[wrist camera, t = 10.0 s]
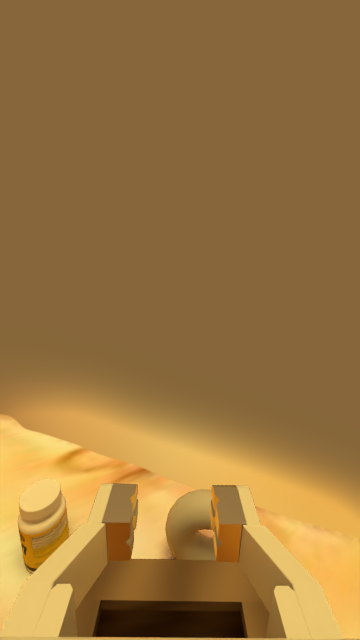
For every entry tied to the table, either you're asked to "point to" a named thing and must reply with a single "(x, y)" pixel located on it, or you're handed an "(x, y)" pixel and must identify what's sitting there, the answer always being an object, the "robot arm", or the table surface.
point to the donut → (190, 527)
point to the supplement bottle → (42, 522)
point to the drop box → (172, 601)
